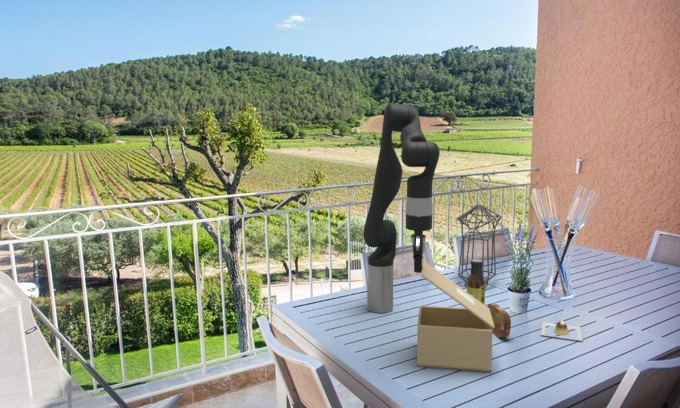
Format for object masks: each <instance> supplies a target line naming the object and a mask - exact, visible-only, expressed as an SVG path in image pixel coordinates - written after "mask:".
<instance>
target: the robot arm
mask: <svg viewBox="0 0 680 408" xmlns="http://www.w3.org/2000/svg"><path fill="white" fill-rule="evenodd" d="M382 119H383V120H382V129H381V138H380V148H379V152H378V159H377V162H376V163H377V165H376V167H375V173H374V180H373V186H372V187H373V188H372V193H371V199H370V205H369V208H368V212H367V215H366V219H365V223H364V227H363V240H364V243H365V244H366V245H367V246H368V247H370V248H376V249H375V250H374V251H373V252H372V253H371V254H370V255H369V256H368V258H367V286H366V294H367V295H366V296H367V297H366V310H367V312H371V313H377V314H378V313H379V314H386V313H390V312H392V311H393V310H394V260H395V258H396V253H397V235H398V234H397V228H396V225H395V224H394V222H393V221H392V220H389V219H384V217H385V215H386V212H387V210H388V208H389V206H390V205H391V204H392V202H393V201H394V200H395V197H397V195H398V193H399V191H400V188H401V184H402V179H403V173H404V172H403V167H402V164H403V165H404V166H406V167H408V168H424V170H423V171H422V172H421V173H419V174H414V175H411V176H409V177H407V180H406V202H405V229H406V230H408V231H413V234H412V235H411V237H410V239H411V244H412V245H411V252H412V253H413V255H412V259H413V271H414V273H418V274H421V271H422V262H423V260H424V255H423V254H424V253H425V246H426V245H425V243H426V240H427V239H426V238H427V237H426V234H424V232H428V231H432V229H433V182H434V181H433V180H434V176H435V172H436V168H437V165H438V163H439V159H440V154H441V151H440V147H439V145H438V144H437V143H436V142H434V141H428V139H427V138H426V137H425V135H424V133H423V131H422V126H421V125H422V124H421V120H420V115H419V110H418V109H417V107H415V106H413V105H409V104H402V103H394V102H389V103H387V105H386V107H385V110H384V113H383V118H382ZM393 132H395V133H400V136H399V139H400V144H401V146H402V147H401V154H400V156H401V157H400V159H401V161H400V159H399V156H398V155H397V153H396V151H395V147H394V144H393V137H392V136H393ZM401 162H402V164H401Z"/></svg>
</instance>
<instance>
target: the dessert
mask: <svg viewBox="0 0 680 408" xmlns="http://www.w3.org/2000/svg"><path fill="white" fill-rule="evenodd" d="M547 326H548V327H554V330H553V333H554V334H556V335H559V336H554V335H547V334H546V332H547V329H546V327H547ZM569 330H576V335H577V337H576V338H577V339H575V338H570V337H560V336H569V334H570V333H569ZM540 335H541V336H543V337H548V338H554V339H555V338H556V339H560V340H561V339H562V340H569V341H575V342H576V341H577V342H583V333H582V327H581V326H575V325H569V324H566V323H565V322H564V320H560V321H558V322H557V323H552V322H551V323H550V322H546V321H545V322H544V321H542V322H541V332H540Z"/></svg>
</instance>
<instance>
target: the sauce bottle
mask: <svg viewBox="0 0 680 408" xmlns="http://www.w3.org/2000/svg"><path fill="white" fill-rule="evenodd" d="M482 265H483V261H482V259H476V258H475V259H474V258H473V260H472V259H471V260H470V269H471V270H470V274H469V276H467V277H468V279H467V282H468V283H467V286H466V292H467V293H469V294H470V295H472V296H473V297H474V298H476V299H477V300H478V301H480V302H481V303H483V304H484V305H485V306H486V287H485V286H486V283H485V280H486V279H484V278H485V276H484V273H483V274H482Z"/></svg>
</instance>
